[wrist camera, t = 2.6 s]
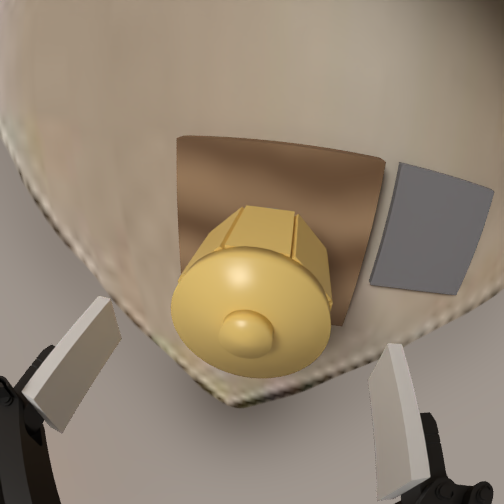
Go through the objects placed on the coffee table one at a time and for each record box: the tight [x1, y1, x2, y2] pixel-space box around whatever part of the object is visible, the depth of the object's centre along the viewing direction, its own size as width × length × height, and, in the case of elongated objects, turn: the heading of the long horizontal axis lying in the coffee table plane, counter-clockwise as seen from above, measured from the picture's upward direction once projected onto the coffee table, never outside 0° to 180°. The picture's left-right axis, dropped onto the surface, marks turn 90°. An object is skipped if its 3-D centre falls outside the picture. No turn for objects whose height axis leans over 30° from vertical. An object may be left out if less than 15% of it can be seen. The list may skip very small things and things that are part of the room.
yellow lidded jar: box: [171, 205, 332, 378], centre depth 15 cm, size 8×8×7 cm
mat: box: [369, 162, 494, 295], centre depth 20 cm, size 10×9×1 cm
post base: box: [177, 136, 386, 326], centre depth 18 cm, size 14×14×10 cm
